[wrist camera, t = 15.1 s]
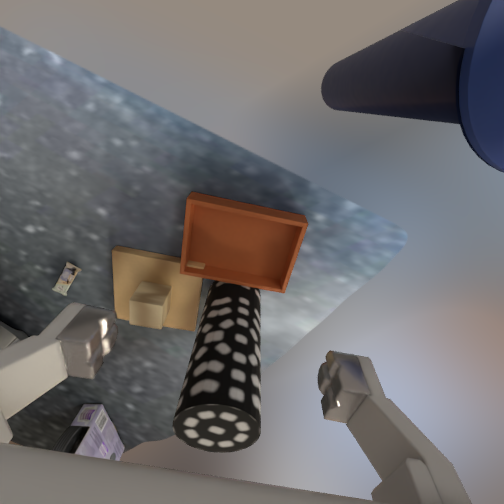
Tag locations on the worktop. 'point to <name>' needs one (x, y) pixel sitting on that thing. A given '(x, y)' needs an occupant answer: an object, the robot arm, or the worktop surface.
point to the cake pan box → (91, 435)
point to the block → (150, 305)
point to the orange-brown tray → (240, 242)
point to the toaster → (10, 335)
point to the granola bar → (66, 278)
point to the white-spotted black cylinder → (223, 374)
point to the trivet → (160, 272)
